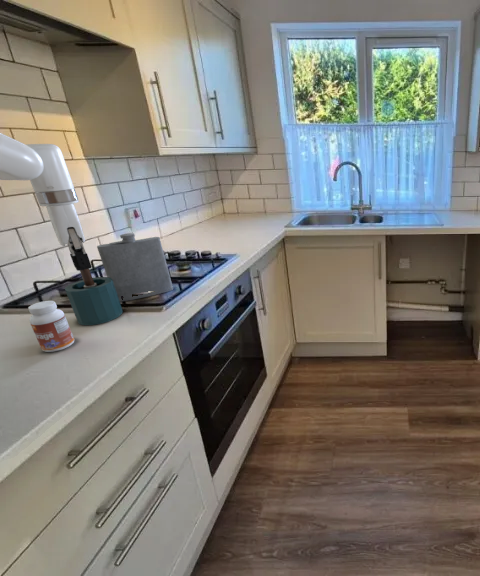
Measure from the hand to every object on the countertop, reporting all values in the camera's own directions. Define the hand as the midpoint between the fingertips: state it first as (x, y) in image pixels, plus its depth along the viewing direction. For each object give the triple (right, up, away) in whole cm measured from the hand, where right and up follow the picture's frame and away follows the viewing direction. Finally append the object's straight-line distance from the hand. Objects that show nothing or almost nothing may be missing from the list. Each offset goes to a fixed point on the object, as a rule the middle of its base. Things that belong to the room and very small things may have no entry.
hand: (83, 267), depth 96 cm
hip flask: (+4, -8, +19) cm, 21 cm away
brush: (0, -10, +4) cm, 11 cm away
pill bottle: (+1, -20, -9) cm, 22 cm away
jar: (0, -14, +6) cm, 15 cm away
